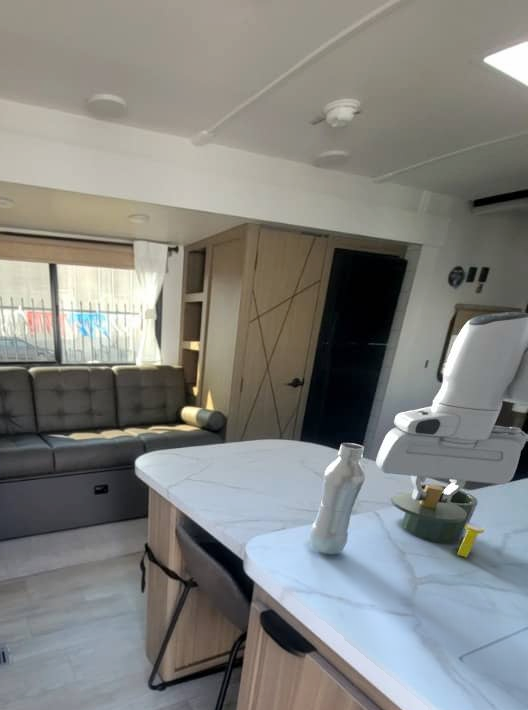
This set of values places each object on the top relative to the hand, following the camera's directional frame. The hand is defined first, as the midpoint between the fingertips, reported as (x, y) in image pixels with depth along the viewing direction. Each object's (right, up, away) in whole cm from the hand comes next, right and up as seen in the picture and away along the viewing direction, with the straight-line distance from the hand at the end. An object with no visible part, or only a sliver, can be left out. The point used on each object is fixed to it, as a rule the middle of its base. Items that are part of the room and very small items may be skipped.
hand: (429, 500), depth 72 cm
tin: (+10, -6, +13) cm, 17 cm away
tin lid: (0, -1, +1) cm, 2 cm away
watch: (+10, -10, +5) cm, 15 cm away
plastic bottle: (-17, -9, +4) cm, 20 cm away
